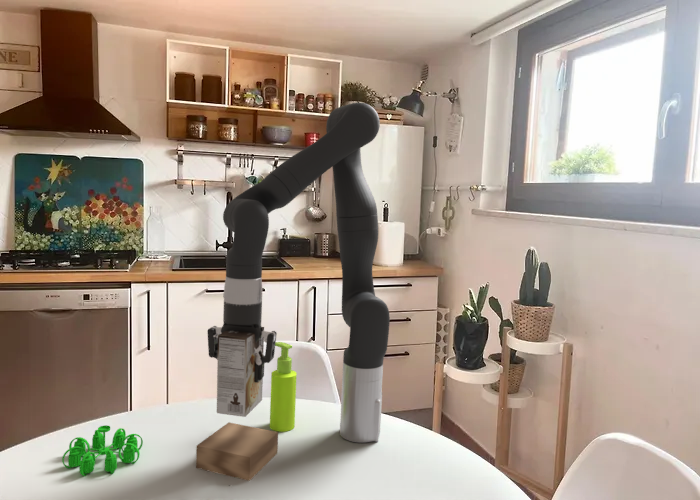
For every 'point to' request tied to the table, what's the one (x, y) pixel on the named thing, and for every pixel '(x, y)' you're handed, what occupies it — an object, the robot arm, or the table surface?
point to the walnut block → (237, 450)
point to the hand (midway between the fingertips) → (240, 379)
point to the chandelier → (102, 450)
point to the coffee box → (237, 373)
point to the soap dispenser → (283, 392)
